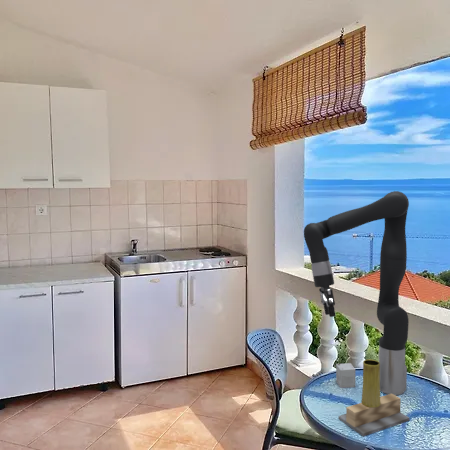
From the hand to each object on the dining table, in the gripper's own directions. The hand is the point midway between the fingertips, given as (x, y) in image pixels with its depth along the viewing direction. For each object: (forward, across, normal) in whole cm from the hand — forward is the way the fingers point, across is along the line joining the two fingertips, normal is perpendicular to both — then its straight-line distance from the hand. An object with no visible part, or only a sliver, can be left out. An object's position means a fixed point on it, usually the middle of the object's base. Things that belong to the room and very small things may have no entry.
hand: (330, 315), depth 180 cm
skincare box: (+28, +7, -2) cm, 29 cm away
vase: (+28, -21, -4) cm, 35 cm away
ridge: (+34, -19, -4) cm, 39 cm away
